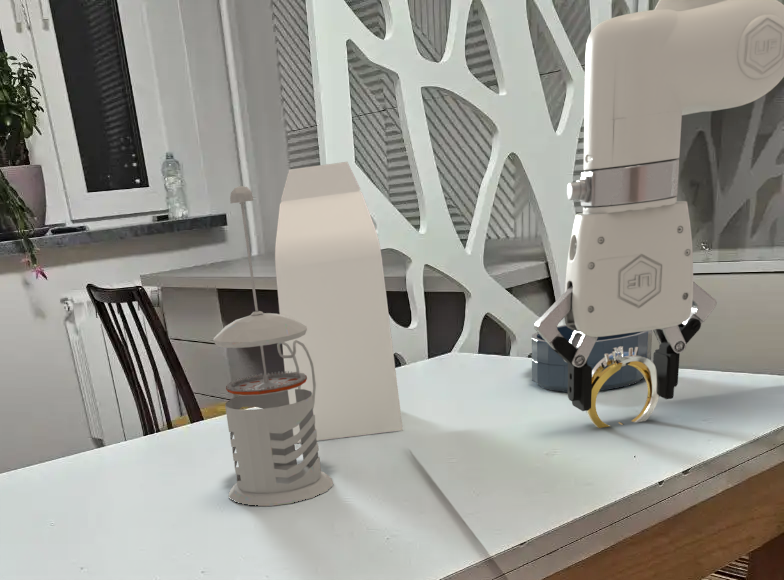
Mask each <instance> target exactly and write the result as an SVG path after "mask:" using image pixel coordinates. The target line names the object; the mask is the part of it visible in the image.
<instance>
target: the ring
mask: <svg viewBox="0 0 784 580" xmlns="http://www.w3.org/2000/svg"><path fill="white" fill-rule="evenodd" d="M637 353H638V347H635V349H634V352H633V348H629V352H623V346H620V347H618V348H617V347H616V348H613V352H612V353H611V354H609V355H608V354H604V355H605V357H604V358H603V359H602V360H600V361H599V362H598V363H597V364H596V366H595V367H594V369H593V370H592V395H591V409H589V410H588V411H585V413H586V415H587V417H588V419H589V420H590V421H591V423H592V424H593V425H594V426H596V427H597V428H598V429H602V428H608V427H609V428H610V427H611V425H610V424H608V423H605V422H604V421H603V420H602V419H601V418H600V416H599V414H598V411H597V406H596V405H597V403H596V402H597V397H598V395H599V392H600V391H601V390H600V388H601V387H602V385H603V384H604V383H605V381H606V380H607V379H608V378H609V377H610V376H612V375H613V374H614V373H615V372H617V371H618V370H620V369H621V367H622V366H626V365H630V366H633V367H635V368H636V369H638V370H639V371H640V372H641V373H642V375H643V376H644V378H643V379H644V380H645V382H646V386H647V394H646V401H645V403H644V406H643V407H642V410H640V412H639V413H638V414H637V415H636V417H634V418H633V419H631V420H630V422H632V423H639V422H641V423H642V422H646V421H647V420H648V419H649V418H650V417H651V415H652V414H653V412H654V410H655V409H656V407H657V405H658V402H659V398H660V396H659V394H660V380H659V375H658V372H657V369H656V367H655V365H654V363H653V360H652V359H651V360H649V359H648V358H645V357H642V356H638V355H637ZM613 363H614V364H613ZM611 364H612V365H611ZM606 365H607V366H609V365H610V366H609V367H607V368H606V369H604V368H605V366H606ZM603 369H604V370H603ZM602 370H603V371H602ZM617 423H618V424H619V425H621V426H622V425H624V423H623V422H620V421H619V422H617Z"/></svg>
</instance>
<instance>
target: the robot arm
mask: <svg viewBox="0 0 784 580" xmlns="http://www.w3.org/2000/svg"><path fill="white" fill-rule="evenodd" d="M657 1H658V2H657V3H656V5H655V7H654V9H649V10H643V11H636V12H631V13H626V14H622V15H618V16H615V17H611V18H608V19H605V20H603V21H601V22H599V23H598V24H596V25H595V26H594V27H593V28H592V29H591V31H590V33H589V34H588V37H587V41H586V44H585V55H584V61H585V62H584V112H583V113H584V115H583V171H582V172H581V173H580V179H577V180H576V181H573V182H568V184H567V186H566V198H567V200H569V201H572V200H573V201H574V200H575V201H578V202H580V206H581V207H582V212H579V213H576V214H575V216H574V220H573V224H572V231H571V236H570V240H569V241H570V242H569V248H568V254H567V261H566V269H565V270H566V272H565V281H564V292H563V294H562V295H560V296H559V298H557V300H556V301H555V302H554V303H553V304H552V305H551V306H549V308H548V309H547V310H546V311H545V312H543V314H542V315H541V316H540V317H539V318H538V319H537V320H536V321H535V323H534V324H533V326H534V328H533V329H534V330H535V331H536V333H537V332H538V333H539V334H540V336H541V337H542V338H543V339H544V340H545V341H546V342H547V343H548V344H549V346H550V347H551V348H552V349H553V350H554V351H555V352H556V353H557V354H558V355H559V356H561V357H562V358H563V360H564V361H565V362H567V363H568V392H567V398H568V400H569V401H570V402H571V404H572V406H573V407H575V408H577V409H578V410H580V411H582V412H586V411H588V410H589V409H591V395H592V368H591V367H590V366H588V365H587V359H588V357H589V355H590V353H591V351H592V349H593V346H594V344H595V342H596V340H597V338H598V337H603V336H611V335H619V334H626V333H633V332H641V331H648V330H652V332H653V333H654V336H655V337H656V340H657V342H658V344H659V345H658V348H657V349H655V350H654V352H653V356H652V358H653V359H652V362H653V363H654V365H655V367H656V369H657V372H658V375H659V380H660V394H659V398H662V399H664V400H672V399H674V395H675V387H677V386H678V383H679V372H680V371H679V370H680V354H682V353H683V352H684V351H685V350H686V349H687V344H688V343H689V342H690V341H691V340H692V339H693V337H694V336H695V335H696V334H697V333H698V332H699V331H700V329H701V327H702V324H703V323H705V321H706V320H707V319H708V317H709V316H710V315H711V314H712V312H713V311H714V309H715V308H716V307H717V303H718V302H717V299H716V298H714V296H712V295H711V294H709V293H708V292H707V291H706V290H705V289H703V287H701V286H700V285H699V284H698V283H696V282H695V281H694V254H693V250H694V249H693V238H692V227H691V220H690V219H691V218H690V212H689V206H688V201H687V200H682V201H681V200H679V201H678V187H679V172H680V171H679V170H680V152H681V135H682V132H681V131H682V120H683V117H682V116H687V115H692V114H697V113H702V112H716V111H721V110H727V109H733V108H737V107H742V106H745V105H747V104H750V103H752V102H755V101H757V100H758V99H760V98H762V97H763V96H765V95H767V94H768V93H769V92H771V91H772V90H773V89H774V88H775V87H776V86H778V84H779V83H780V82H781V81H782V80H783V78H784V4H783V3H782V2H781V1H779V0H657ZM563 319H564V325H566V326H567V327H568V328H569V329H571V330H574V333H573V335H572V337H571V339H570V341H568V340H567V339H565V338H564V337H563V336H562V335H561V334H560V332H559V331H558V329H557V327H558V326H559V324H560V323H561V322H562V321H563Z"/></svg>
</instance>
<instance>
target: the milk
mask: <svg viewBox="0 0 784 580" xmlns="http://www.w3.org/2000/svg"><path fill="white" fill-rule="evenodd" d="M277 218H278V219H277V228H276V235H275V245H274V247H275V248H274V263H275V276H276V277H275V278H276V289H277V298H278V300H277V301H278V312H279V314H280V315H283V316H287V317H291V318H293V319H294V320H296V321H298V322H300V323H301V324H303V325H305V326H306V327H307V331H306V333H305V335H303V336H301V337H299V338H296V339H293V340H289V341H286V342H285V343H287V344H288V345H289V346H290V348H291V350H292V351H293V342H294V341H295V340H297V341H299V342H301V343H303V344H304V345H305V347H306V348H307V350H308V352H309V355H310V357H311V360H312V363H313V366H314V374H315V382H316V391H315V404H314V408H313V415H315V429H316V431H317V438H316V441H317V442H318V441H319V442H320V441H326V440H334V439H342V438H351V437H359V436H367V435H376V434H384V433H391V432H401V431H404V427H403V421H402V420H403V419H402V412H401V405H400V395H399V386H398V379H397V370H396V363H395V362H396V361H395V355H394V347H393V346H394V345H393V339H392V331H391V329H392V328H391V322H390V314H389V313H390V312H389V306H388V297H387V290H386V281H385V273H384V266H383V256H382V250H381V245H380V240H379V235H378V233H377V230H376V226H375V224H374V221H373V218H372V216H371V213H370V210H369V208H368V205H367V202H366V200H365V197H364V194H363V192H362V191H361V187H360V185H359V183H358V181H357V179H356V177H355V175H354V172H353V170H352V168H351V166H350V164H349V162H348V161H342V162H334V163H327V164H319V165H312V166H306V167H305V166H303V167H297V168H292V169H291V168H289V169H288V172H287V175H286V179H285V182H284V186H283V190H282V194H281V198H280V203H279V209H278V217H277ZM281 346H282V355H291V353H290V351H289V350H288V348H287V347H286V346H285V345H283V344H281ZM295 346H296V354H295V357H296V360H297V363H298V367H299V372H300V373H304V374H305V375H306V376H307V380H306V382H305V383H303V384H302V385H301V389H305V390H308V391H311V392H312V395H313V380H312V369H311V365H310V361H309V359H308V356H307V354H306V352H305V350H304V348H303V347H302V346H301V345H299V344H298V343H296V345H295ZM283 366H284V372H285V371H286V372H287V373H288V371H289V373H290V372H291V371H292V372H296V366H295V363H294V360H293V357H292V358H283ZM295 389H298V387H297V388H293V389H290V390H288V396H289V404H294V403H296V395H295ZM299 431H300V428H299V425H298V426H296V427H294V428H293V436H294V435H296V434H298V433H299ZM296 444H301V439H300V440H299V441H298V442H297V443H296Z"/></svg>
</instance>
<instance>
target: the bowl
mask: <svg viewBox="0 0 784 580" xmlns="http://www.w3.org/2000/svg"><path fill="white" fill-rule="evenodd" d="M557 329H558V331H559V332H560V334H561V335H562V336H563V337H564V338H565V339H567V340H568V341H570V339H571V337H572V335H573V333H574V330H571V329H569V328H568V327H567V326H566V324H564V325H558V326H557ZM652 342H653V330H648V331H641V332H633V333H626V334H619V335H611V336H603V337H598V338H597V340H596V342H595V344H594V346H593V349H592V351H591V353H590V355H589V357H588V359H587V365H588V366H590V367H591V368H592V370H593V369H594V367H595V366H596V364H597V363H598V362H599V361H600V360H602V359H603V358H604V357H605V355H604V354H608V355H609V354H611V353H612V352H613V348H616V347H617V348H618V347H620V346H623V352H629V348H633V352H634V349H635V347H638V353H637V355H638V356H642V357H645V358H648V359H649V360H651V361H652V344H653V343H652ZM613 364H614V363H613ZM611 365H612V364H611ZM609 366H610V365H609ZM609 366H607V365H606V366H605V368H604V369H606V368H607V367H609ZM604 369H603V370H604ZM603 370H602V371H603ZM643 377H644V376H643V375H642V373H641V372H640V371H639V370H638V369H636V368H635V367H633V366H630V365H626V366H622V367H621V369H620V370H618V371H617V372H615V373H614V374H613V375H612V376H610V377H609V378H608V379H607V380H606V381H605V383H604V384H603V385H602V387H601V388H600V390H599V391H607V390H614V389H613V388H615V389H619V387H620V388H624V387H627V386H626V385H628V386H630V385H629V384H632V385H634V384H633V383H635V382H637V383H639V382H641V381H642V380H643V379H644V378H643ZM641 379H642V380H641ZM640 380H641V381H640ZM531 381H532V382H534V383H535V384H537V386H538V387H540V388H541V389H545V390H550V391H554V392H565V393H568V363H567V362H565V361H564V360H563V358H562V357H561V356H559V355H558V354H557V353H556V352H555V351H554V350H553V349H552V348H551V347H550V346H549V344H548V343H547V342H546V341H545V340H544V339H543V338H542V337H541V336H540V334H539V333H538V332H537V331H536V332H535V333H533V334H532V335H531ZM638 381H639V382H638ZM635 384H636V383H635ZM623 386H624V387H623Z"/></svg>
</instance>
